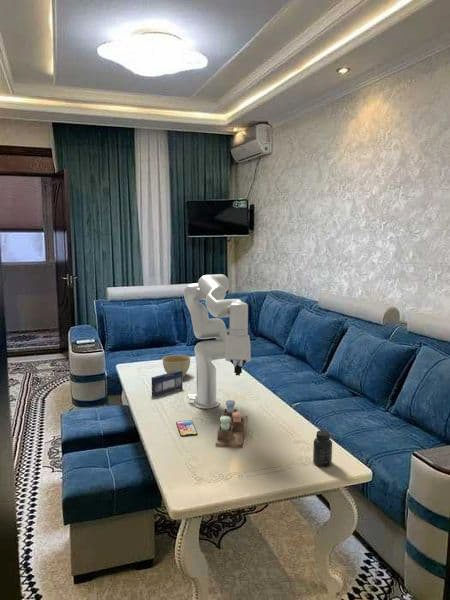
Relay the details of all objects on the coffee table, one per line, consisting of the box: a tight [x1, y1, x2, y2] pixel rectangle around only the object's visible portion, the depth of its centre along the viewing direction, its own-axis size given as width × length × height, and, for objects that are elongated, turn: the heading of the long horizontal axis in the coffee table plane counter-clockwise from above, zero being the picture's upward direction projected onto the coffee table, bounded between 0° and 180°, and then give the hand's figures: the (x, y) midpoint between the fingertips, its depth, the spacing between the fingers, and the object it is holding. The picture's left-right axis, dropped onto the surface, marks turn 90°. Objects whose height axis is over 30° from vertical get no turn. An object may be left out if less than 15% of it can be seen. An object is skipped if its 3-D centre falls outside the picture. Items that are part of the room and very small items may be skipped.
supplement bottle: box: [312, 429, 333, 468], centre depth 177 cm, size 7×7×12 cm
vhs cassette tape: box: [151, 370, 184, 398], centre depth 251 cm, size 18×3×10 cm, turn 131°
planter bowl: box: [162, 354, 191, 378], centre depth 277 cm, size 16×16×11 cm
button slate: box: [225, 399, 236, 413], centre depth 213 cm, size 4×4×6 cm
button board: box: [215, 408, 248, 448], centre depth 205 cm, size 10×29×5 cm, turn 173°
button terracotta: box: [232, 411, 243, 422], centre depth 204 cm, size 4×4×6 cm
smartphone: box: [175, 419, 198, 438], centre depth 207 cm, size 7×1×15 cm
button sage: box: [219, 415, 231, 431], centre depth 195 cm, size 4×4×6 cm
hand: (238, 374), depth 201 cm, fingers closed
